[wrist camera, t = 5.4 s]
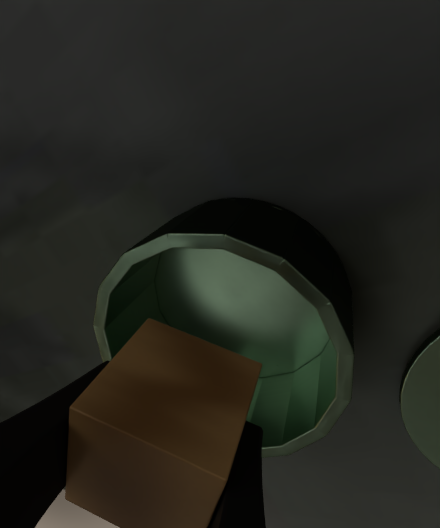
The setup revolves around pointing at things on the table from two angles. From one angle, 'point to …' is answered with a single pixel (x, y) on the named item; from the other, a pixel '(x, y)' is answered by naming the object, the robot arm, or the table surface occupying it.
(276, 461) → the table surface
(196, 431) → the block
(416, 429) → the lid
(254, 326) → the bowl
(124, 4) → the table surface
